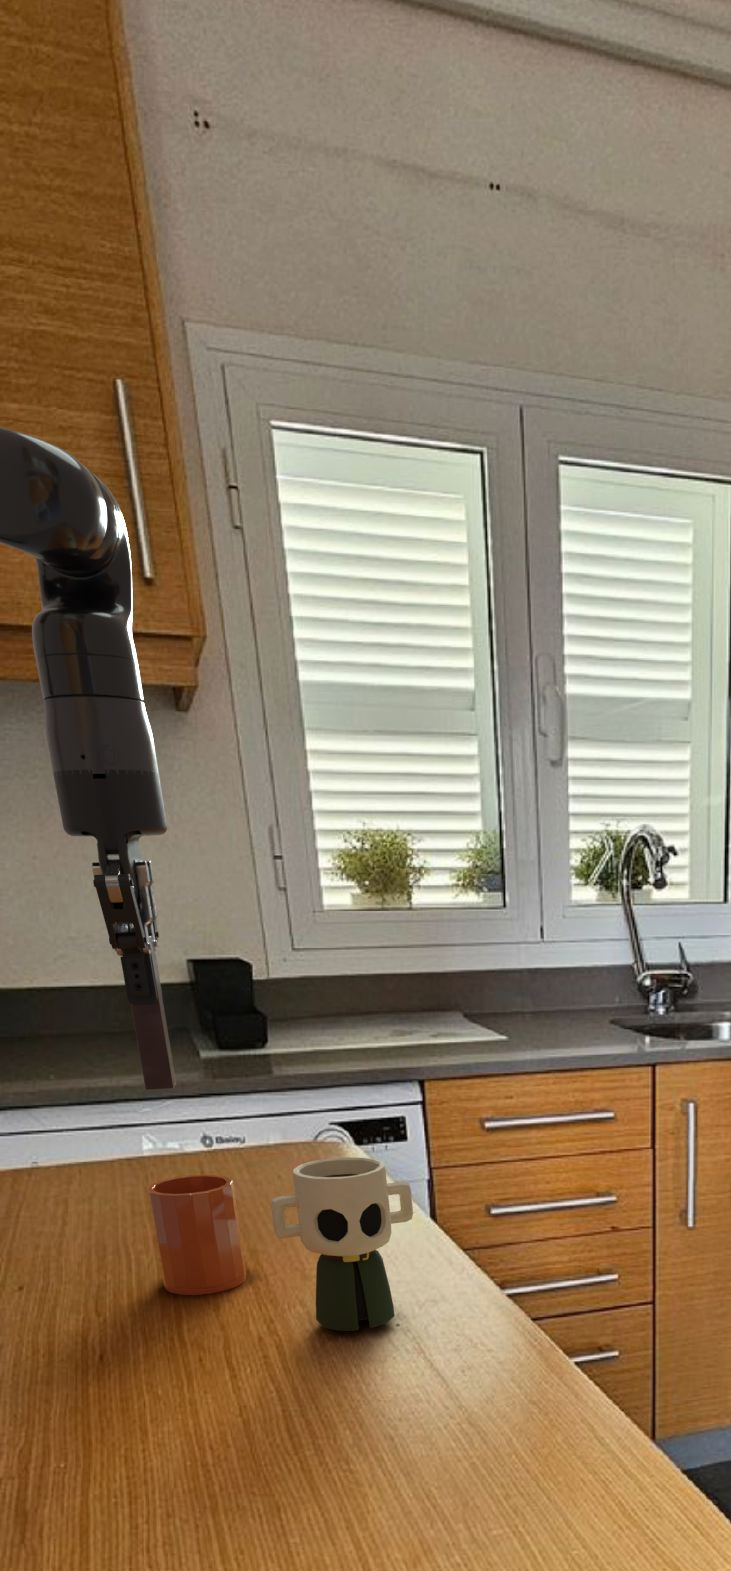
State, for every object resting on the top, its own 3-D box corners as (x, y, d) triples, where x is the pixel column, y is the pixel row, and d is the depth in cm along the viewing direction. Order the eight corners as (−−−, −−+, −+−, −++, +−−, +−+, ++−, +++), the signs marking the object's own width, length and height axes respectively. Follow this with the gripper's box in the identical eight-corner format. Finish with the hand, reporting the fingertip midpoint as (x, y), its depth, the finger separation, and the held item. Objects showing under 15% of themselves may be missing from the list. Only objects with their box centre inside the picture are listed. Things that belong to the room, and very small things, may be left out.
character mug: (296, 1349, 92) (274, 1185, 87) (280, 1320, 98) (259, 1165, 93) (433, 1326, 97) (420, 1168, 92) (410, 1299, 103) (397, 1150, 98)
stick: (145, 1089, 99) (119, 937, 95) (149, 1085, 101) (123, 936, 97) (173, 1088, 100) (148, 936, 95) (176, 1083, 102) (152, 935, 97)
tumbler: (148, 1292, 105) (130, 1193, 102) (192, 1267, 111) (177, 1172, 108) (219, 1297, 104) (203, 1196, 100) (261, 1271, 110) (247, 1176, 107)
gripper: (70, 774, 97) (111, 995, 103) (32, 761, 84) (81, 1014, 91) (168, 773, 98) (202, 991, 105) (145, 761, 86) (185, 1009, 93)
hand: (146, 1000), depth 98 cm, fingers closed on stick, 2 cm apart
